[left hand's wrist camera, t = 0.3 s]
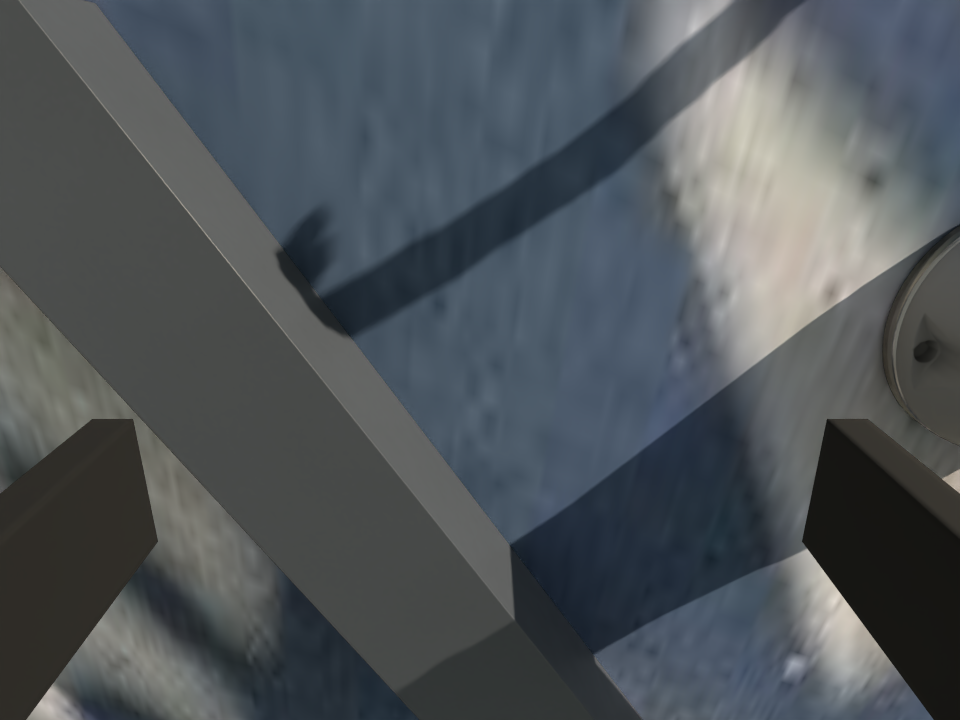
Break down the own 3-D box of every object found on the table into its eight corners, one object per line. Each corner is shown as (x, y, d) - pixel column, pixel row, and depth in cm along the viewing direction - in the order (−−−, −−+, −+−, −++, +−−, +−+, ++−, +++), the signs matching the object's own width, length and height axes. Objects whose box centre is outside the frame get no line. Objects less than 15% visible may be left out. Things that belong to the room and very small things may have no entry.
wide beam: (-30, 108, 36) (-146, 109, 29) (95, 2, 34) (1, -22, 27) (563, 791, 55) (574, 887, 48) (663, 746, 53) (690, 840, 46)
